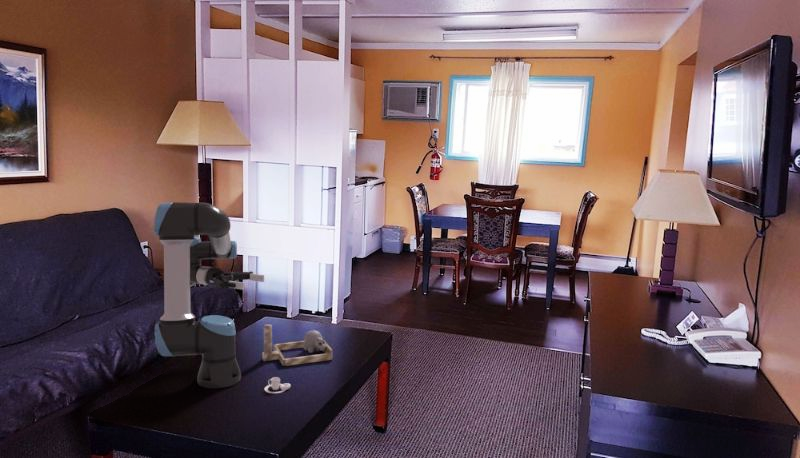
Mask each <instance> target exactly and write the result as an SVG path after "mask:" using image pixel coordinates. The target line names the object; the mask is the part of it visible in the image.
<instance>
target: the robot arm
mask: <svg viewBox="0 0 800 458" xmlns="http://www.w3.org/2000/svg"><path fill="white" fill-rule="evenodd" d="M230 230H231V221H230V218H229V216H228V215H227V213H226V212H224V211H223V210H222V209H221V208H219V207H218V206H216V205H213V204H211V203H207V202H179V201H178V202H175V201H174V202H173V201H171V202H163V203H160V204H159V205H158V206H157V208H156V211H155V213H154V221H153V234H154V236H156V237H158V241H159V242H160V243H161V244H162V245H163V277H164V278H163V284H164V285H163V288H164V289H163V291H164V292H163V295H164V297H163V298H164V304H163V305H164V309H163V310H164V312H163V315H162V316H160V318H159V322H157V323H156V324H155V326H154V339H155V346H156V348H157V352H158V354H159V355H160V356H162V357H179V356H180V357H181V356H196V355H198V356H199V355H201V364H200V367H199V370H198V373H197V379H196V380H197V384H198V386H200V387H202V388H206V389H223V388H228V387H229V388H230V387H232V386H234V385H236V384H238V383H239V382H240V381H241V379H242V372H241V368H240V366H239V363H238V360H237V357H236V356H237V354H236V333H237V331H236V326H235V322H234V320H233V319H232V318H230V317H228V316H223V315H220V314H219V315H217V314H215V315H213V314H211V315H205V316H203V317H201V318H200V321H196V315H194V314H193V313H192V311H191V284H198V285H203V286H204V287H206V286H212V287H217V288H218V289H222V290H223V289H225V290H226V291H227V290H229V289H236V290H242V291H243V290H245V282H243V280H245V281H246V280H249V281H251V282H252V281H253V282H260V283H264V282H265V274H259V273H258V274H257V273H254V272H253V271H251V270H250V271H229V272H228V271H227V272H224V271H223V270H222V268H219V267H212V266H206V265H202V260H229V259H231V260H232V259H236V258H237V256H238V243H237V241H235V240H231V235H230ZM200 236H208V237H209V241H208V240H207V241H202V240H201V237H200ZM241 281H242V282H241Z"/></svg>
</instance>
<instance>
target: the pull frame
mask: <svg viewBox="0 0 800 458" xmlns="http://www.w3.org/2000/svg"><path fill="white" fill-rule="evenodd" d="M304 344H305V342H304V340H299V341H291V342H290V341H289V342H282V343H275V344H274V343H273V325H272V324H271V323H269V324H268V323H267V324H266V323H265V324H263V352H262V353H261V355H262V356H261V359H262V361H263V362H270V361H277V360H279V362H280V363H281V365H282V367H288V366H294V365H295V366H297V365H303V364H309V363H316V362H317V363H318V362H323V361H331V360H333V358H334V355H333V354H334V353H333V352H334V351H333V349H332V347H331V346H330V345H329V344H328V342H327V341H325V345H326V350H324V351H323V353H320V354H311V355H305V356H304V355H303V356H297V357H288V358H285V356H284V355H283V353H282V352H281V351H285V350H291V349H292V350H293V349H300V348H301V349H302V348H304Z"/></svg>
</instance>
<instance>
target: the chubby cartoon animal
mask: <svg viewBox="0 0 800 458" xmlns="http://www.w3.org/2000/svg"><path fill="white" fill-rule="evenodd" d="M303 341H304V342H305V344H304V347H303V350H304V351H308V353H310V354H314V352H321V351H322V352H324V350H326V345H325V342H326V340H325V336H323V335H322V334H321V332H320V331H319V330H315V329H312V330H308V331H307V332H306V333H305V335H304V339H303Z"/></svg>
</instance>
